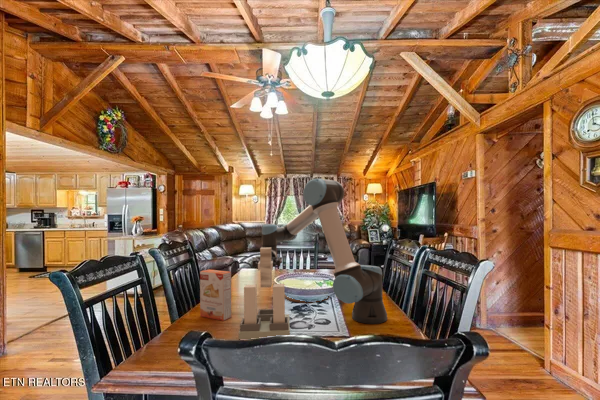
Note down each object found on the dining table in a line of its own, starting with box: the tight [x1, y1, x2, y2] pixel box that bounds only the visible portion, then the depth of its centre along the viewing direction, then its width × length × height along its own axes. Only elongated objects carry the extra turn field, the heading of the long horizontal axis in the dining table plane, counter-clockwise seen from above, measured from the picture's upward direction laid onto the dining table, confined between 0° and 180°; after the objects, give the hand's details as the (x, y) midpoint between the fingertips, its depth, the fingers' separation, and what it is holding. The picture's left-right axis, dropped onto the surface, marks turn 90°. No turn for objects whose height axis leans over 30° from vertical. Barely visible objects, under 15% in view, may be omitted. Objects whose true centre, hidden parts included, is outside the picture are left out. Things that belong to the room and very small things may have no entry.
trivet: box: [285, 295, 329, 304], centre depth 176 cm, size 25×25×2 cm
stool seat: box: [238, 283, 291, 340], centre depth 127 cm, size 19×19×19 cm
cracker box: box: [199, 269, 233, 322], centre depth 144 cm, size 14×6×21 cm, turn 62°
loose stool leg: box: [259, 246, 273, 288], centre depth 133 cm, size 4×4×16 cm
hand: (265, 266), depth 128 cm, fingers closed on loose stool leg, 4 cm apart
